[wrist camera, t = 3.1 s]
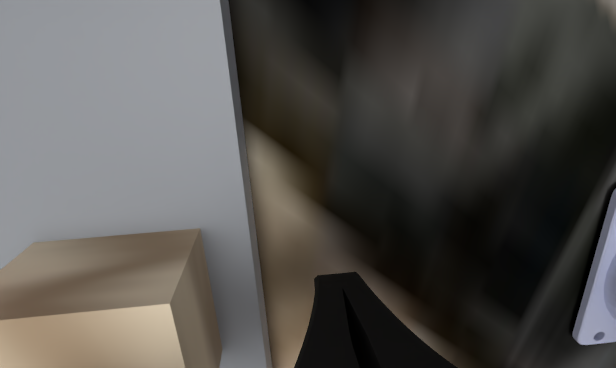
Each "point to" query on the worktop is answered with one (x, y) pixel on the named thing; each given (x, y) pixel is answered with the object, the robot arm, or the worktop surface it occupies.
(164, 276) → the maple block
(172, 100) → the trap tray
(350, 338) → the robot arm
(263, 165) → the worktop surface
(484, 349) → the worktop surface
